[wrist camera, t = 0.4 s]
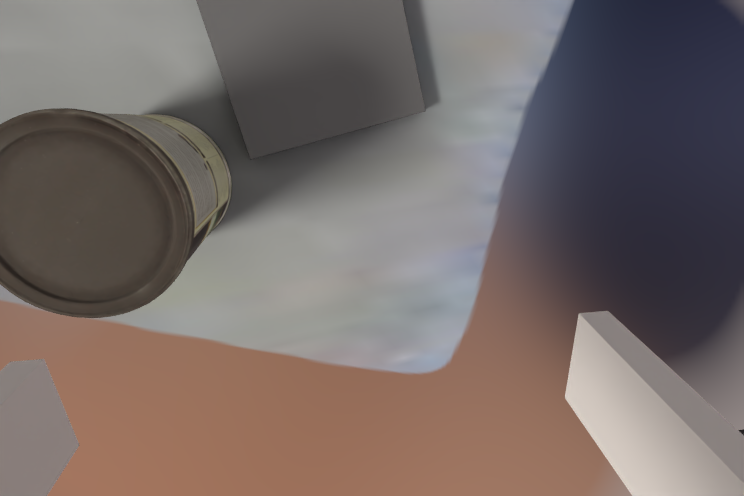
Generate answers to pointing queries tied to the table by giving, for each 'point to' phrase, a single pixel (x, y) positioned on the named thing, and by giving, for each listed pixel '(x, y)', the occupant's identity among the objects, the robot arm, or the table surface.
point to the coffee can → (103, 207)
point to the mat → (312, 67)
